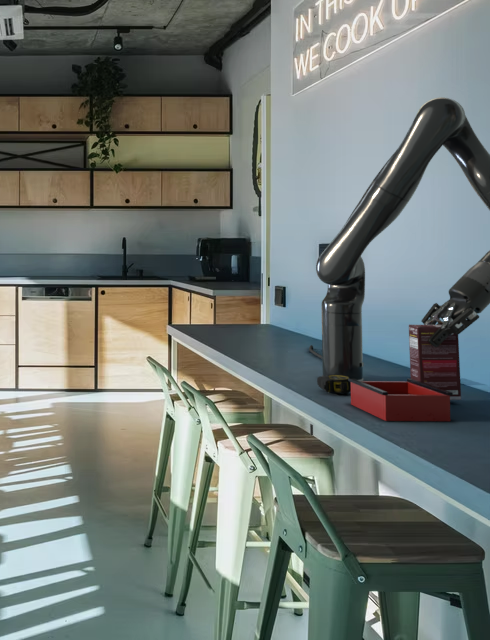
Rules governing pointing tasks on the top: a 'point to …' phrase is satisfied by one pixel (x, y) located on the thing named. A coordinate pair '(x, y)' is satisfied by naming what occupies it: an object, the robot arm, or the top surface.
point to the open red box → (401, 400)
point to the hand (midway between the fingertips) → (424, 342)
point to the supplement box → (435, 359)
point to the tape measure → (334, 383)
